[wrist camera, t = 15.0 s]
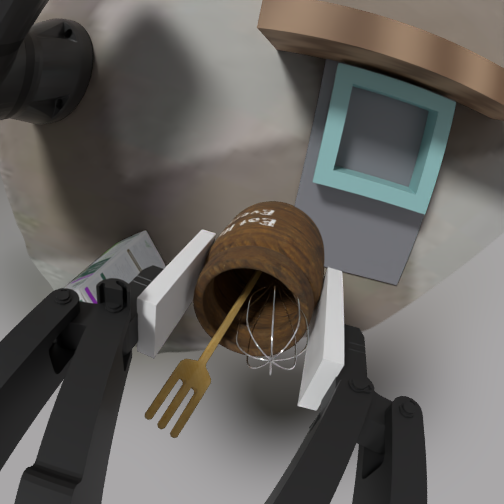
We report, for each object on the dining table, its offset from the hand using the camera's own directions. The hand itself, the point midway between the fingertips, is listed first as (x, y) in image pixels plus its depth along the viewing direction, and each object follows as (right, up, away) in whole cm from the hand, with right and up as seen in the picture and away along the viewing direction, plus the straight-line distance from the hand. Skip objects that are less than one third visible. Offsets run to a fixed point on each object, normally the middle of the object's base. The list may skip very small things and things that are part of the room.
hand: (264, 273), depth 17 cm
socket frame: (+12, +13, +13) cm, 22 cm away
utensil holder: (+1, +1, +3) cm, 4 cm away
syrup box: (-15, +1, +25) cm, 30 cm away
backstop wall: (+14, +20, +9) cm, 26 cm away
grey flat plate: (+11, +9, +15) cm, 21 cm away
